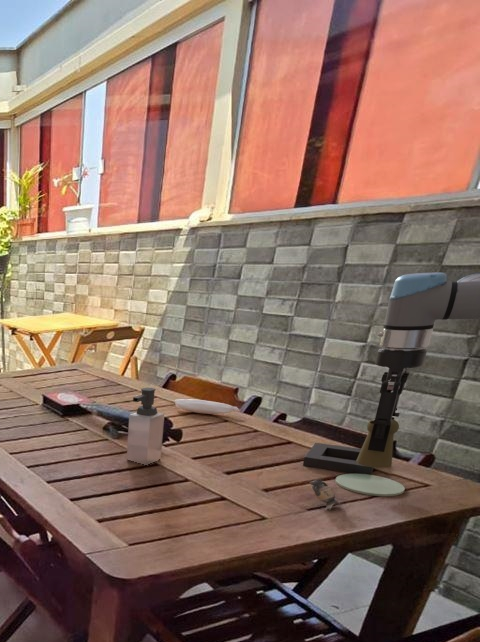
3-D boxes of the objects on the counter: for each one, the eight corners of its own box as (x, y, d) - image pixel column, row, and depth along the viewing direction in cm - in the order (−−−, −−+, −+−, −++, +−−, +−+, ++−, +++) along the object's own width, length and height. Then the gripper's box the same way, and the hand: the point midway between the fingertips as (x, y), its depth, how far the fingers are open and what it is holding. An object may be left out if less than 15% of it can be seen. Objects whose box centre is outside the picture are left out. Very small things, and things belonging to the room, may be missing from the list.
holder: (378, 459, 130) (380, 451, 129) (370, 476, 122) (372, 467, 122) (313, 450, 140) (315, 442, 139) (302, 465, 132) (304, 456, 131)
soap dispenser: (121, 462, 148) (125, 391, 140) (140, 454, 151) (145, 385, 144) (141, 468, 142) (146, 394, 135) (160, 460, 146) (166, 388, 138)
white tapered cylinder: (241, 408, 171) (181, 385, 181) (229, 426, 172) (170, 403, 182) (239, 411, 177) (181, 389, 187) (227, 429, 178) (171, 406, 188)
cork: (354, 464, 117) (364, 420, 113) (358, 456, 120) (368, 414, 117) (390, 469, 112) (401, 424, 109) (393, 461, 116) (404, 417, 112)
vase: (299, 502, 115) (303, 479, 113) (317, 497, 116) (322, 474, 114) (323, 511, 110) (329, 487, 108) (343, 507, 111) (348, 483, 109)
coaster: (407, 482, 118) (407, 480, 117) (400, 500, 110) (401, 498, 110) (340, 472, 126) (340, 469, 126) (330, 488, 119) (331, 485, 119)
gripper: (384, 340, 115) (362, 433, 123) (372, 354, 105) (349, 455, 112) (431, 341, 110) (405, 438, 118) (423, 356, 99) (395, 462, 107)
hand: (377, 446), depth 115 cm, fingers closed on cork, 5 cm apart
